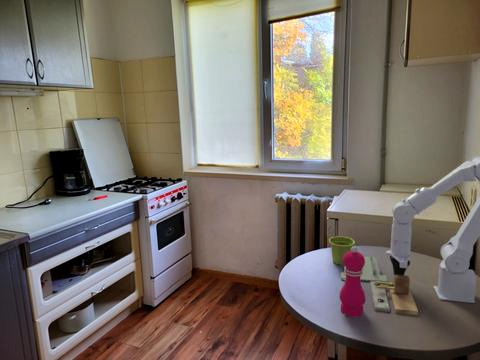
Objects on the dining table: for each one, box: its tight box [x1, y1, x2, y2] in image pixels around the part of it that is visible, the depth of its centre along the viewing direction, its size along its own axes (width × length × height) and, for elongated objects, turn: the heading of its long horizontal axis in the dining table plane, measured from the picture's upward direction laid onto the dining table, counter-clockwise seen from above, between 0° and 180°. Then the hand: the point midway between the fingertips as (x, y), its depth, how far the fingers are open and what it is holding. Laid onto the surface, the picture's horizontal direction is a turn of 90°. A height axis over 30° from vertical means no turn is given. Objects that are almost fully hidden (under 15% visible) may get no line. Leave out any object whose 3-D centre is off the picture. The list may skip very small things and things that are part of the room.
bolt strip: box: [369, 281, 391, 313], centre depth 109 cm, size 4×16×1 cm, turn 164°
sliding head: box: [377, 273, 411, 294], centre depth 109 cm, size 9×2×5 cm, turn 74°
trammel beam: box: [375, 281, 419, 316], centre depth 108 cm, size 10×16×2 cm, turn 165°
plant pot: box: [328, 235, 355, 266], centre depth 134 cm, size 9×9×9 cm
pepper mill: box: [339, 246, 367, 318], centre depth 100 cm, size 7×7×20 cm
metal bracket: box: [340, 255, 388, 283], centre depth 125 cm, size 14×6×15 cm
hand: (398, 279), depth 114 cm, fingers closed
